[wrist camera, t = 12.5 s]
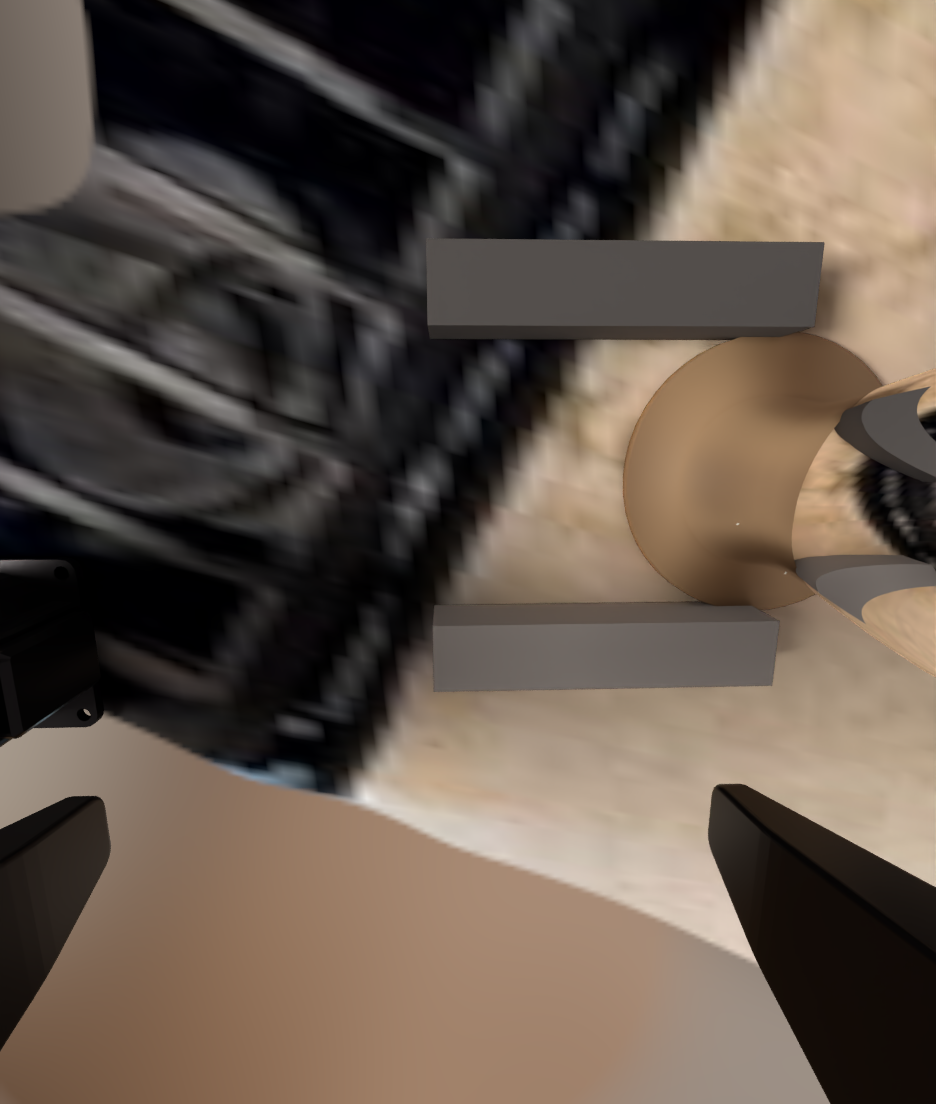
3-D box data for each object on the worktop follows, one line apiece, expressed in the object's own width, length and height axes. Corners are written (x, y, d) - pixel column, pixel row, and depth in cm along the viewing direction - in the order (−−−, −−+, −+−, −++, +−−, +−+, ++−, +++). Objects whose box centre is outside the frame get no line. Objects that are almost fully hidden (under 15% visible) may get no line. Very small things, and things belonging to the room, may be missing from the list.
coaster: (616, 607, 21) (620, 612, 21) (630, 333, 19) (636, 330, 19) (868, 604, 22) (879, 609, 21) (908, 334, 20) (923, 331, 19)
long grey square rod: (430, 338, 19) (427, 324, 17) (428, 263, 19) (426, 238, 16) (770, 340, 20) (814, 326, 17) (778, 266, 19) (824, 242, 17)
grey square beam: (435, 664, 22) (433, 691, 19) (434, 604, 21) (432, 626, 19) (737, 659, 22) (772, 685, 20) (743, 600, 21) (779, 621, 19)
